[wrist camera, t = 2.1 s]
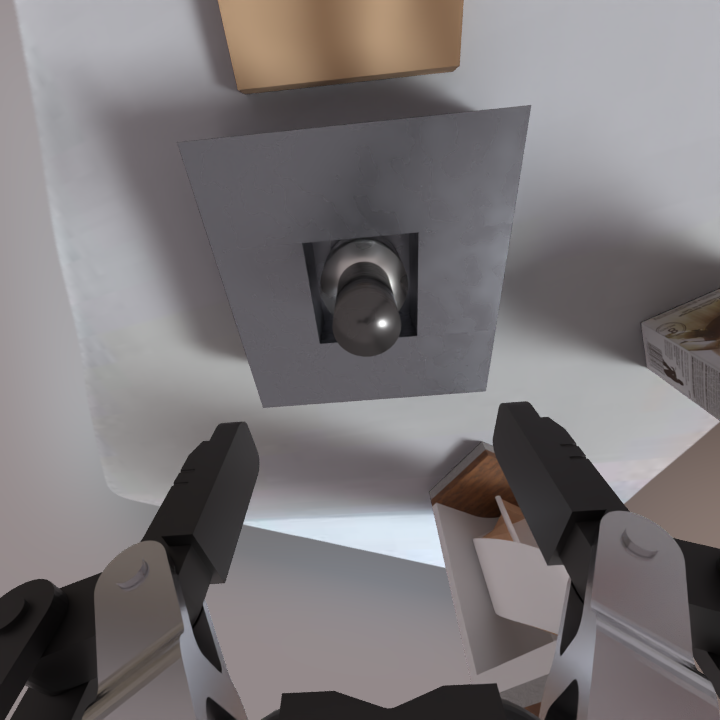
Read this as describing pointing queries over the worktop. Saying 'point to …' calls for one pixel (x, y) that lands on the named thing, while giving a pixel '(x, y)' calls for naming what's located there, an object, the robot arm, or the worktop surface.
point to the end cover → (364, 294)
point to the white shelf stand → (498, 580)
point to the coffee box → (688, 349)
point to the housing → (356, 220)
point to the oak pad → (338, 41)
